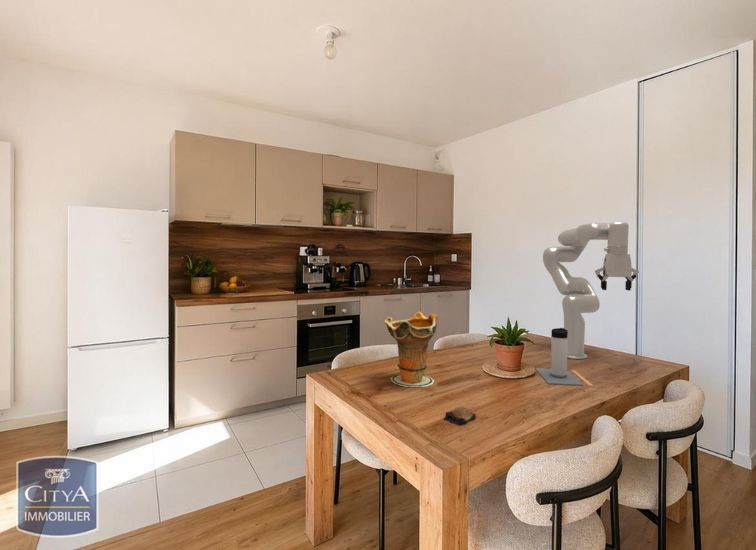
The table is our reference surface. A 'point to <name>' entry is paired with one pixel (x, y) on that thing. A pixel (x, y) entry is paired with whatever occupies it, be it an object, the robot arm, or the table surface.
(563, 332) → the travel mug
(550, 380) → the mat
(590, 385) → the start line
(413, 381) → the decorative vase
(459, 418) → the brown black rock
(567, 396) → the table surface
